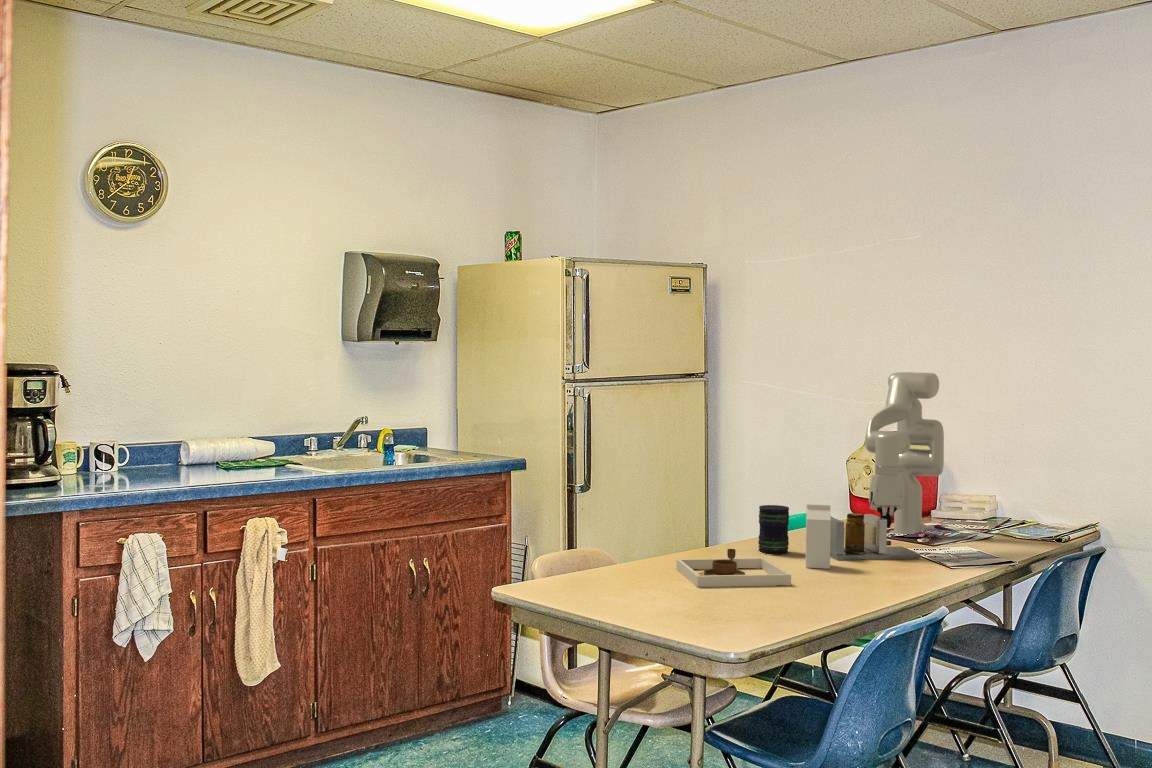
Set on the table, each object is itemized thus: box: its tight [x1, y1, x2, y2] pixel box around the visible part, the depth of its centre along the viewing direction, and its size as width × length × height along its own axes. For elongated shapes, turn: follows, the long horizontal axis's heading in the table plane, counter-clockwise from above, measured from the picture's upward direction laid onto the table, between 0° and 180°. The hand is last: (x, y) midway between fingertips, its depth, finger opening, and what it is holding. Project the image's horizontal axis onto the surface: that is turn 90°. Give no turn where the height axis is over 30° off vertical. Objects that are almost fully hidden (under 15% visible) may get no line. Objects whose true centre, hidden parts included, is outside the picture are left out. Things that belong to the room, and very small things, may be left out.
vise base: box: [830, 516, 922, 561], centre depth 344 cm, size 28×14×12 cm, turn 98°
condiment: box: [844, 512, 873, 554], centre depth 343 cm, size 7×8×12 cm
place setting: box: [698, 548, 746, 576], centre depth 308 cm, size 18×20×6 cm
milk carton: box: [805, 504, 832, 570], centre depth 325 cm, size 7×7×19 cm
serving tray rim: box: [676, 557, 792, 588], centre depth 308 cm, size 27×25×3 cm
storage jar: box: [757, 504, 790, 556], centre depth 348 cm, size 10×10×15 cm
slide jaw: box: [863, 513, 892, 553], centre depth 345 cm, size 7×12×11 cm, turn 8°
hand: (885, 527), depth 345 cm, fingers closed
